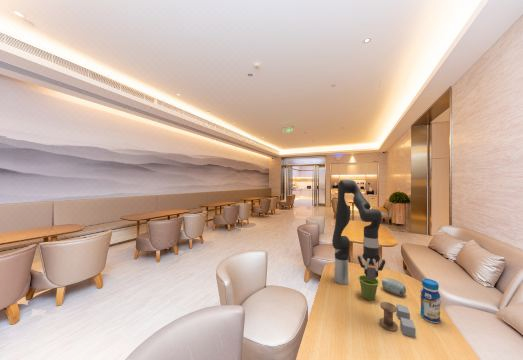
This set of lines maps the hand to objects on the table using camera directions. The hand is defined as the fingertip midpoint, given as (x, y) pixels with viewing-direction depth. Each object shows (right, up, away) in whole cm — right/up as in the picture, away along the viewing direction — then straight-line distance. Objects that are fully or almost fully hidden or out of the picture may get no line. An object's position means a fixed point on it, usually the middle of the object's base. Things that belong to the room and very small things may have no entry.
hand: (371, 276), depth 109 cm
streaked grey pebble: (+27, -22, +22) cm, 41 cm away
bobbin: (+5, -22, -7) cm, 23 cm away
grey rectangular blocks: (+14, -22, -6) cm, 27 cm away
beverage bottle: (+31, -22, -2) cm, 38 cm away
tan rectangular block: (0, -1, 0) cm, 1 cm away
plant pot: (+8, -22, +17) cm, 28 cm away
